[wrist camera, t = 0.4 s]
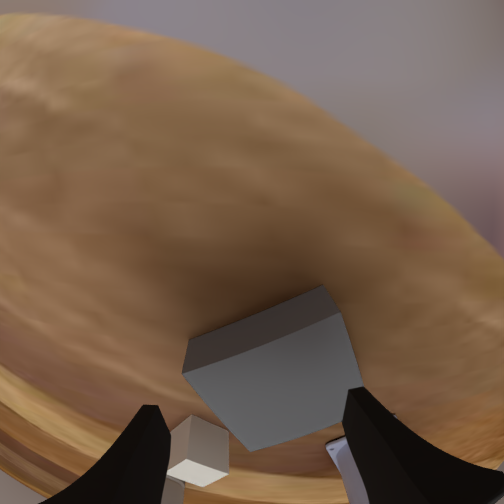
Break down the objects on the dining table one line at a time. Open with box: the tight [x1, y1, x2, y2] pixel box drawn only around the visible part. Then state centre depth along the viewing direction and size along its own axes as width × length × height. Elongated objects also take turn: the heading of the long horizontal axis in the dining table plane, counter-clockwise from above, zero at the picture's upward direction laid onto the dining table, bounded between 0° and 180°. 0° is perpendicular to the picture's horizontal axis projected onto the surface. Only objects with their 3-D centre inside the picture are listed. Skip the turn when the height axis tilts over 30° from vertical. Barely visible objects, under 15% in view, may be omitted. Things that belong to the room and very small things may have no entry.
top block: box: [167, 414, 229, 487], centre depth 21 cm, size 4×4×5 cm
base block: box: [182, 285, 364, 452], centre depth 19 cm, size 10×10×4 cm
